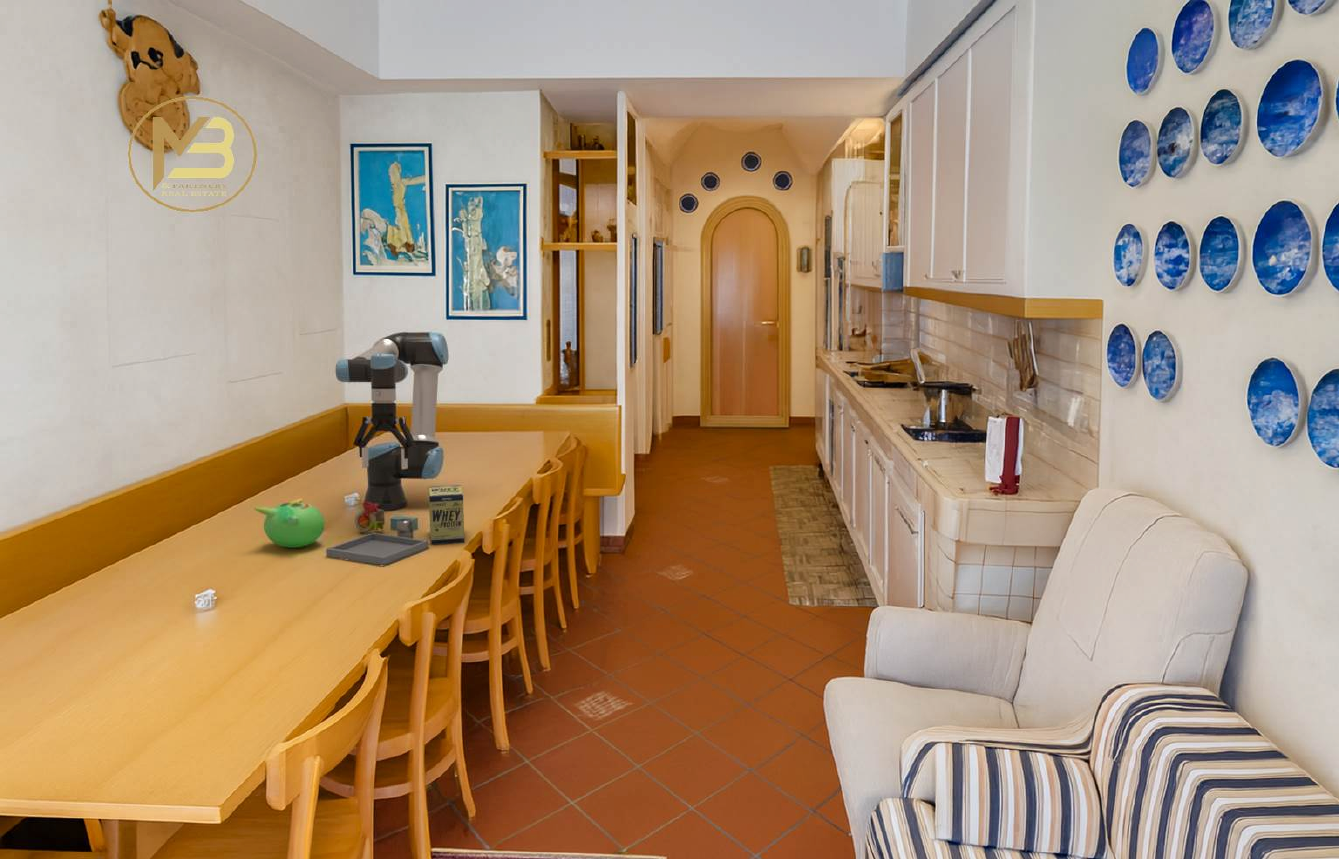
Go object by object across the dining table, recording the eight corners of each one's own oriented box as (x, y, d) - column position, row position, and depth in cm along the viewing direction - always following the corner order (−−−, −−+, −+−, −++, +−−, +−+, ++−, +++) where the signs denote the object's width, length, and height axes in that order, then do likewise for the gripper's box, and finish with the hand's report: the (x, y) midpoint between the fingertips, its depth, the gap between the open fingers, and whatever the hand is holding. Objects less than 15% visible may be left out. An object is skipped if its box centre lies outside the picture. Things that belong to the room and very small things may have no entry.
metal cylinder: (404, 535, 306) (403, 517, 306) (416, 537, 304) (416, 519, 303) (394, 539, 302) (393, 521, 301) (406, 541, 300) (405, 523, 299)
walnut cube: (373, 522, 323) (372, 508, 322) (384, 524, 321) (384, 509, 320) (362, 526, 319) (362, 511, 318) (374, 527, 317) (373, 513, 316)
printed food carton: (358, 542, 307) (383, 531, 306) (343, 511, 305) (368, 500, 304) (366, 537, 313) (390, 526, 312) (351, 506, 312) (375, 496, 310)
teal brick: (398, 527, 318) (397, 515, 317) (418, 529, 315) (417, 517, 314) (390, 530, 314) (390, 518, 314) (410, 532, 311) (410, 520, 311)
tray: (373, 540, 301) (372, 532, 301) (428, 548, 292) (428, 540, 292) (326, 556, 283) (326, 548, 283) (384, 566, 274) (384, 558, 274)
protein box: (431, 545, 296) (429, 496, 294) (429, 532, 311) (428, 486, 309) (465, 542, 299) (463, 494, 297) (462, 530, 314) (460, 484, 311)
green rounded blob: (336, 542, 299) (333, 497, 296) (299, 557, 283) (296, 509, 281) (289, 537, 304) (287, 492, 302) (251, 551, 289) (247, 504, 286)
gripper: (341, 402, 300) (343, 468, 302) (415, 403, 296) (416, 470, 298) (353, 400, 308) (354, 465, 310) (425, 402, 303) (426, 467, 305)
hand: (384, 468), depth 304 cm, fingers open, 13 cm apart
